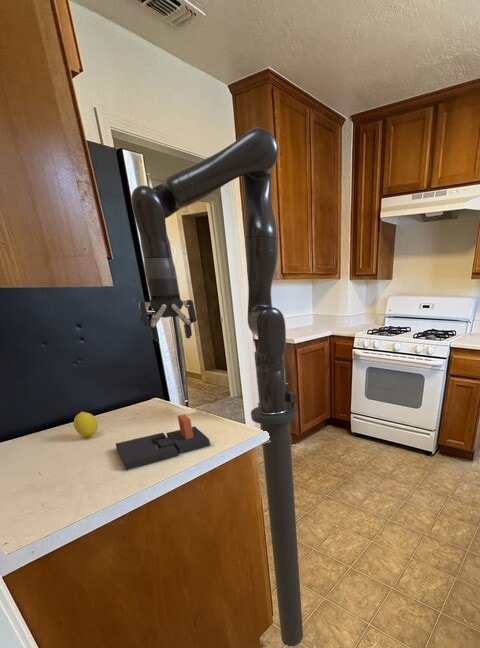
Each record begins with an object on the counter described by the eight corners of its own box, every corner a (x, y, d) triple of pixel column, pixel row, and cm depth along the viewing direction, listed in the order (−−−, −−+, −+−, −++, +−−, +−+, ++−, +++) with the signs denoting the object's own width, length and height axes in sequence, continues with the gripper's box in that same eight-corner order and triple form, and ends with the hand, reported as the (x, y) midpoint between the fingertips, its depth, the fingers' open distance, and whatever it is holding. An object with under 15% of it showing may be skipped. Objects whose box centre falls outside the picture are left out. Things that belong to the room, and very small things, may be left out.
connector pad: (196, 432, 104) (191, 408, 102) (210, 445, 95) (206, 419, 93) (154, 442, 98) (148, 417, 95) (165, 457, 89) (159, 430, 86)
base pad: (164, 438, 101) (163, 432, 100) (178, 456, 90) (176, 448, 89) (117, 450, 94) (115, 443, 93) (126, 470, 84) (124, 462, 83)
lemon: (74, 440, 101) (65, 414, 98) (91, 433, 106) (83, 407, 103) (88, 442, 99) (80, 415, 96) (105, 434, 104) (98, 409, 101)
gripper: (135, 277, 87) (149, 343, 94) (192, 276, 95) (202, 338, 101) (129, 278, 93) (143, 340, 99) (184, 277, 101) (194, 335, 107)
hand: (173, 339), depth 100 cm, fingers open, 8 cm apart
